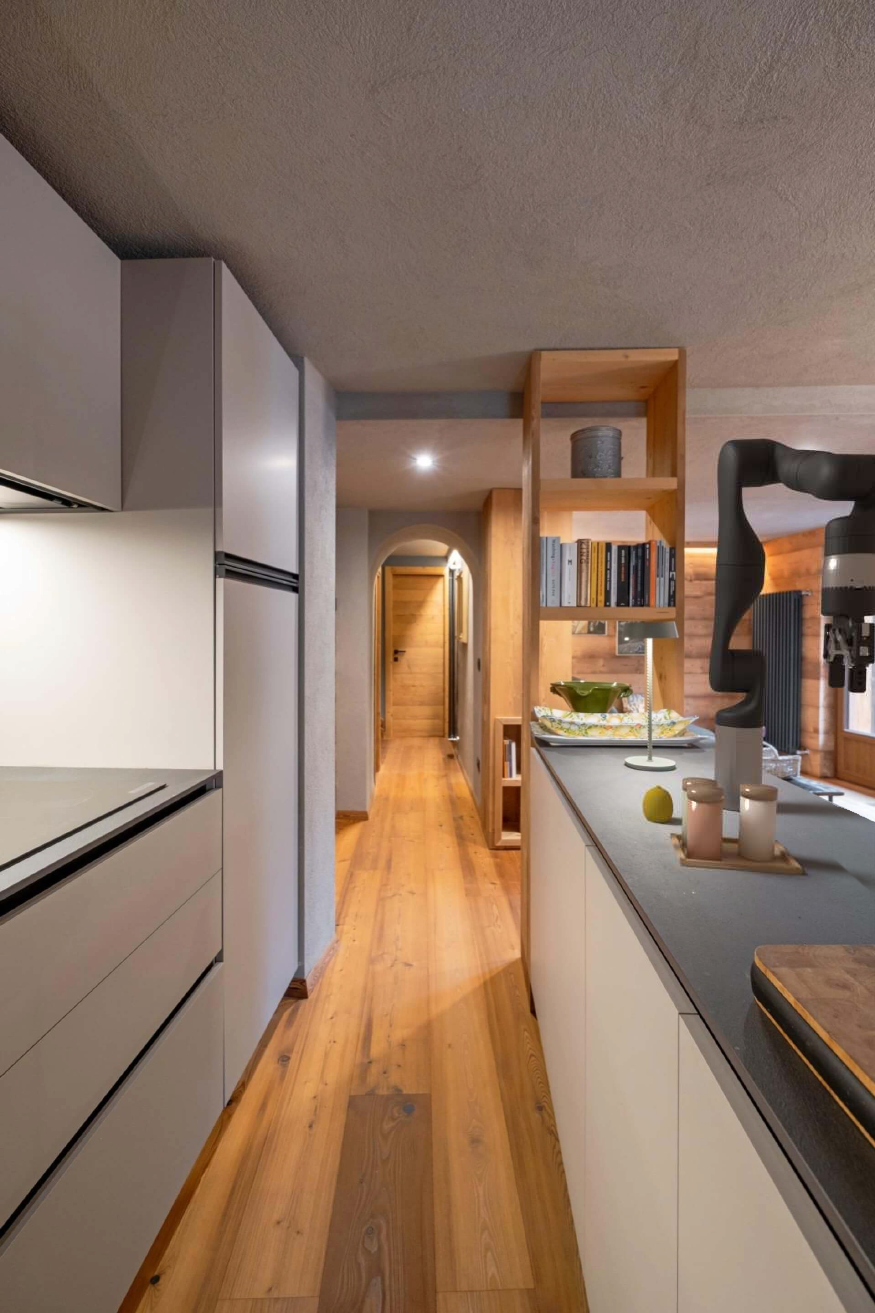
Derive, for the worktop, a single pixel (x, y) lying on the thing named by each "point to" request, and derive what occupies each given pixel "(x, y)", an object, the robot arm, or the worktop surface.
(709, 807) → the terracotta jar
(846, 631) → the robot arm
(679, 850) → the tray
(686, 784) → the sage jar
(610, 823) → the worktop surface
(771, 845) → the white jar
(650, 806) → the lemon
